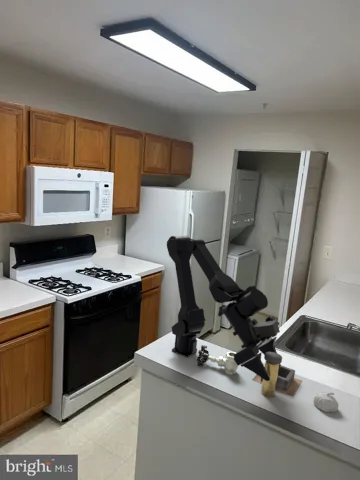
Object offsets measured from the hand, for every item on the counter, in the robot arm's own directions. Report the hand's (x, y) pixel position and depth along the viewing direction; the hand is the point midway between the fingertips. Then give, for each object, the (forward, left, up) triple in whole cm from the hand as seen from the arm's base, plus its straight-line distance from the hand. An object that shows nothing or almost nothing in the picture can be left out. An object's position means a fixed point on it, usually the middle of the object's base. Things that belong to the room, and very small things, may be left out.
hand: (274, 373), depth 94 cm
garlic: (+13, +4, -8) cm, 16 cm away
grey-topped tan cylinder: (-1, 0, -7) cm, 7 cm away
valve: (-18, +3, -8) cm, 19 cm away
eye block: (-1, +8, -7) cm, 11 cm away
